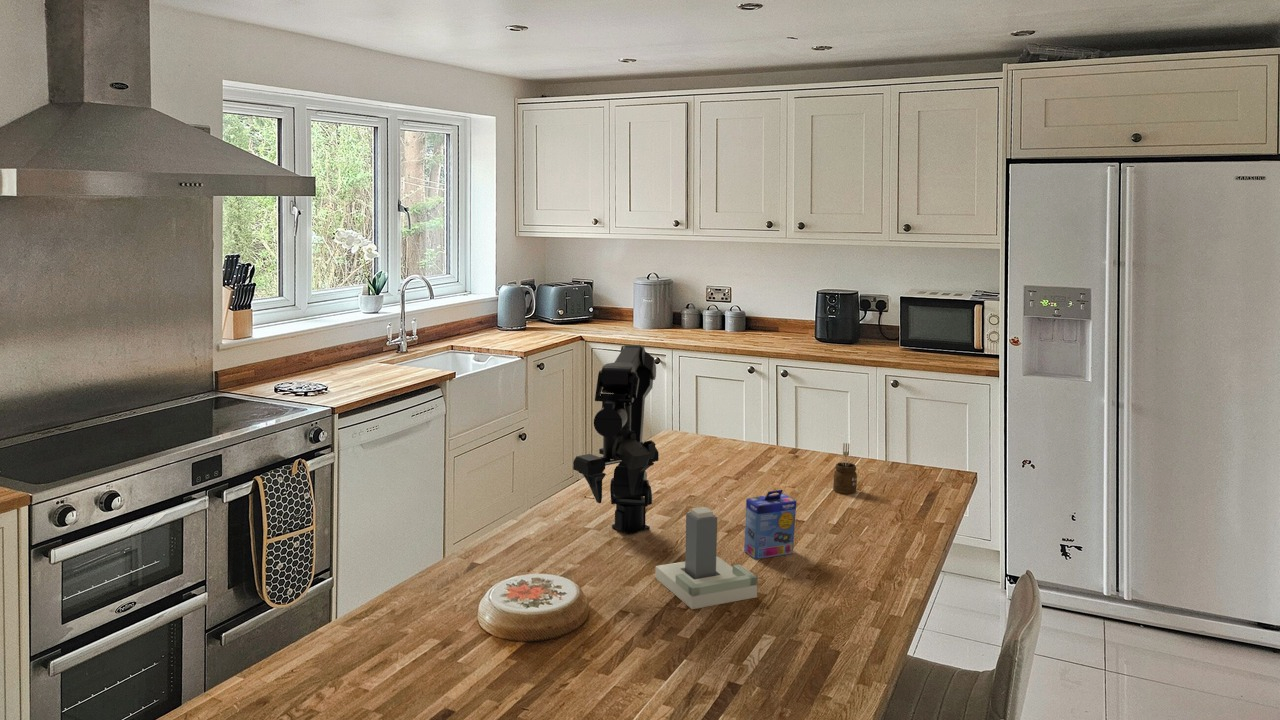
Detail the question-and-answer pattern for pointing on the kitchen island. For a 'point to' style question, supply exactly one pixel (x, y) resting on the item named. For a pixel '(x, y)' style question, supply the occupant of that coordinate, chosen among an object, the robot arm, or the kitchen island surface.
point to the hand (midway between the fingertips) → (616, 498)
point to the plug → (701, 543)
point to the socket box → (708, 584)
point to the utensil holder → (845, 476)
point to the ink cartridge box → (770, 525)
